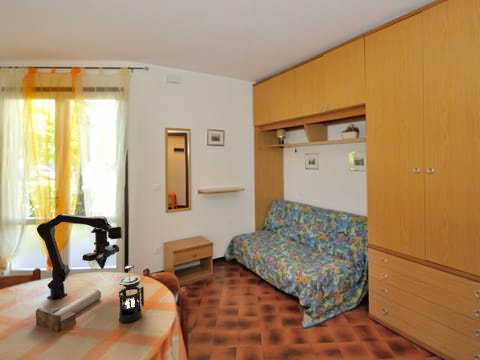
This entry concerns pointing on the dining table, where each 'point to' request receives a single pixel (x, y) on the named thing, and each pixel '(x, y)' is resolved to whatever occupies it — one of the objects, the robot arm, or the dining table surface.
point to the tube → (80, 303)
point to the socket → (54, 319)
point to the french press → (130, 304)
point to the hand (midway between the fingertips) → (102, 268)
